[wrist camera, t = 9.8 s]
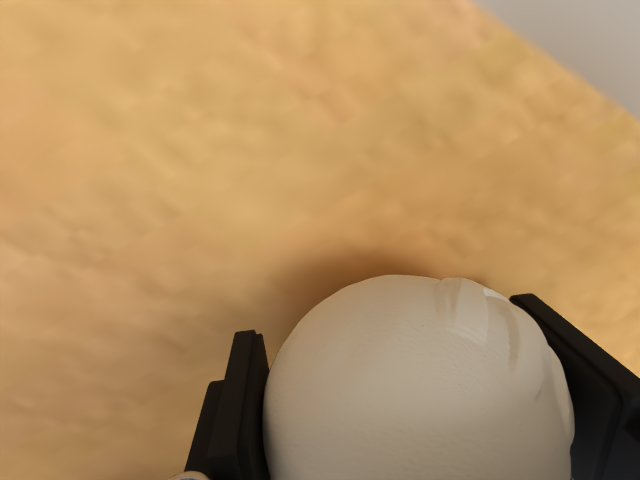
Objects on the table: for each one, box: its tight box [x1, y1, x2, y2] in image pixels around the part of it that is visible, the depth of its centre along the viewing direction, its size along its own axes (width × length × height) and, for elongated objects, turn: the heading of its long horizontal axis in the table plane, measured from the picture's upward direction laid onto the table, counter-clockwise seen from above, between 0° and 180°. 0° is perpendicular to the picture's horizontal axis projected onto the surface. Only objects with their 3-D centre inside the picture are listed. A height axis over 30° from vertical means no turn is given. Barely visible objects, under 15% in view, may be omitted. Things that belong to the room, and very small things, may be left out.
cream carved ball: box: [262, 274, 575, 480], centre depth 9 cm, size 7×7×7 cm
